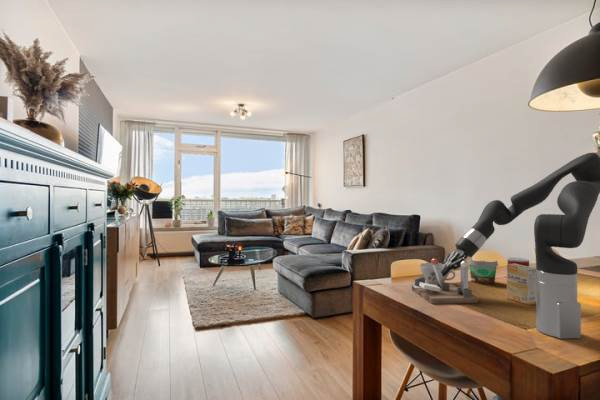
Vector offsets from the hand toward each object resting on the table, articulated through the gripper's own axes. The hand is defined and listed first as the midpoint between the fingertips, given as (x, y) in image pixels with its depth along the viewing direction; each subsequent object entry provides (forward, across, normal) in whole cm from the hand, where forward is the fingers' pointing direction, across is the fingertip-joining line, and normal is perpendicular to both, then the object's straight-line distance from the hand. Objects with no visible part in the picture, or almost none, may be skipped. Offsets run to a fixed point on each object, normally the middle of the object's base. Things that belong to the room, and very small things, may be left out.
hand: (441, 274), depth 133 cm
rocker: (+8, -4, +2) cm, 9 cm away
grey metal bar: (+1, -10, -6) cm, 12 cm away
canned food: (-22, +13, -35) cm, 43 cm away
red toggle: (+3, 0, -4) cm, 5 cm away
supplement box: (-11, -11, -23) cm, 28 cm away
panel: (+6, -3, -5) cm, 8 cm away
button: (+9, +4, +1) cm, 10 cm away
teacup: (+2, +16, -9) cm, 18 cm away
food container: (-12, +15, -24) cm, 31 cm away
